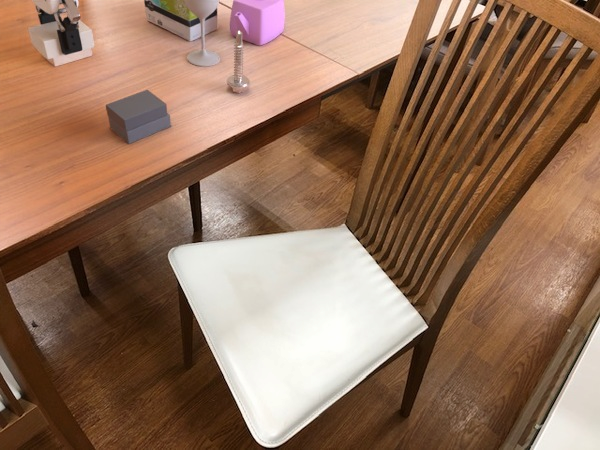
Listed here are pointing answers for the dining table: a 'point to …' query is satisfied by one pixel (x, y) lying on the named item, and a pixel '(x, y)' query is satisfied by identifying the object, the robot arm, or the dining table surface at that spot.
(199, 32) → the tea box
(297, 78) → the dining table surface
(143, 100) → the grey stack
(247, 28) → the teapot
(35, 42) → the white block
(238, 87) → the screw
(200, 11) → the wineglass
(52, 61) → the white stack
